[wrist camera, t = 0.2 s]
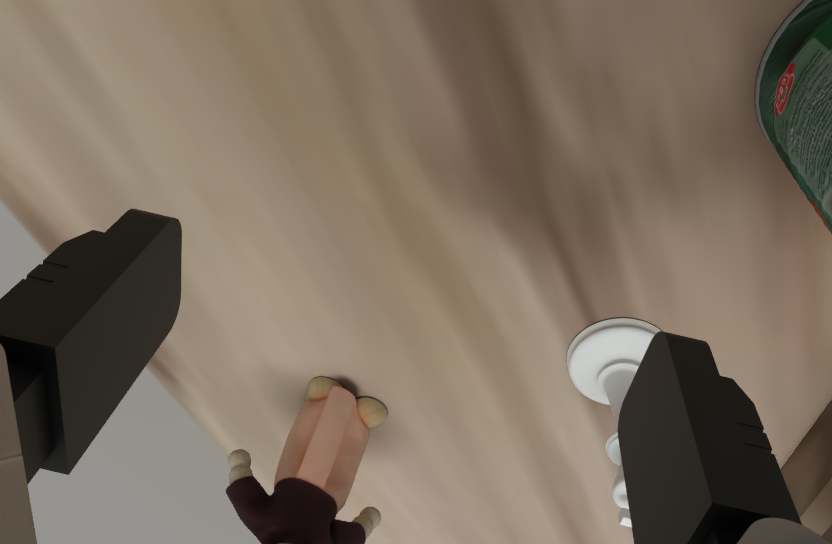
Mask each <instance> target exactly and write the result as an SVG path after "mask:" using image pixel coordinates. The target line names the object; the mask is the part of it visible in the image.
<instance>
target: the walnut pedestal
mask: <svg viewBox="0 0 832 544" xmlns="http://www.w3.org/2000/svg"><path fill="white" fill-rule="evenodd" d="M781 473H782V475H783V478H784V480H785V483H786V485H787V488H788V490H789V493H790V495H791V498H792V500H793V503H794V505H795V508H796V510H797V513H798V515H799V518H800V520H801V523H802V525H803V526H805V527H807V528H809V529H811V530H812V531H814V532H815V533H817V534H819V535H820V536H822V537H823V538H824V539H826V540H827V541H828V542H829V543H831V544H832V401H831V402H830V404H829V405H828V406H827V408H826V409H825V411H824V412H823V413H822V415H821V416H820V417H819V419H818V420H817V422H816V423H815V424H814V426H813V427H812V428H811V430H810V431H809V432H808V434H807V435H806V437H805V438H804V439H803V441H802V442H801V443H800V445H799V446H798V448H797V449H796V450H795V452H794V453H793V454H792V456H791V457H790V459H789V460H788V461H787V463H786V464H785V465H784V467H783V468H782V470H781Z"/></svg>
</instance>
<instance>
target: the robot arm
mask: <svg viewBox="0 0 832 544" xmlns="http://www.w3.org/2000/svg"><path fill="white" fill-rule="evenodd" d="M181 247H182V230H181V224H180V222H179V220H178V219H176V218H172V217H168V216H163V215H159V214H155V213H150V212H146V211H142V210H137V209H130V210H128V211H127V212H126V213H125V214H124V215H123V216H122V217H121V218H120V219H119V220H118V221H117V222H115V223H114V224H113V225H112V226H111V227H110V228H109V229H108V230H107V231H106V232H105V233H103V232H99V231H95V230H92V231H90V232H87V233H85V234H83V235H80V236H78V237H76V238H73V239H71V240H69V241H66V242H64V243H62V244H61V245H60V246H59V247H58V248H57V249H56V250H55V251H53V252H52V253H51V254H50V255H49V256H48V257H47V258H46V259H45V260H43V264H42V265H41V264H39V265H38V266H37V267H36V268H35V269H33V270H32V271H31V272H30V273H29V274H28V275H27V278H26V280H25V279H22V280H21V281H20V282H19V283H18V284H17V285H16V286H14V287H13V288H12V289H11V290H10V291H9V292H8V293H7V294H6V295H4V296H3V297H2V298H1V299H0V544H37V541H36V535H35V529H34V522H33V516H32V511H31V504H30V498H29V492H28V486H27V484H28V483H29V482H30V481H31V479H32V478H33V476H34V475H35V474H36V472H37V471H38V470H39V469H40V468H42V469H46V470H50V471H54V472H59V473H63V474H69V473H70V472H71V471H72V469H73V468H74V466H75V465H76V464H77V462H78V461H79V459H80V458H81V457H82V455H83V454H84V452H85V451H86V449H87V448H88V447H89V445H90V444H91V442H92V441H93V440H94V438H95V437H96V435H97V434H98V433H99V431H100V430H101V428H102V427H103V425H104V424H105V423H106V421H107V420H108V418H109V417H110V415H111V414H112V413H113V411H114V410H115V408H116V407H117V406H118V404H119V403H120V401H121V400H122V399H123V397H124V396H125V394H126V393H127V391H128V390H129V389H130V387H131V386H132V384H133V383H134V382H135V380H136V378H137V377H138V376H139V374H140V373H141V372H142V370H143V369H144V367H145V366H146V365H147V363H148V362H149V360H150V359H151V358H152V356H153V355H154V353H155V352H156V350H157V349H158V348H159V346H160V345H161V343H162V342H163V341H164V339H165V338H166V336H167V335H168V333H169V332H170V330H171V329H172V327H173V325H174V322H175V320H176V317H177V314H178V310H179V305H180V299H181ZM763 429H764V428H763V425H762V423H761V420H760V418H759V415H758V413H757V410H756V408H755V405H754V403H753V402H752V401H751V400H750V398H749V397H748V396H747V395H746V394H745V393H744V392H743V390H742V389H741V388H740V387H739V386H738V385H737V383H736V382H735V381H734V380H733V379H731V378H727V377H723V376H720V375H719V372H718V369H717V366H716V364H715V361H714V358H713V355H712V352H711V350H710V347H709V345H708V344H707V342H705V341H701V340H697V339H693V338H688V337H684V336H680V335H675V334H671V333H667V332H662V331H659V332H657V333H656V334H655V335H654V337H653V338H652V340H651V342H650V344H649V346H648V348H647V350H646V352H645V355H644V357H643V359H642V361H641V363H640V365H639V368H638V370H637V372H636V374H635V376H634V378H633V381H632V383H631V385H630V387H629V389H628V391H627V394H626V396H625V398H624V400H623V403H622V406H621V410H620V414H619V420H618V440H619V447H620V453H621V460H622V466H623V473H624V479H625V486H626V492H627V499H628V505H629V512H630V518H631V525H632V531H633V537H634V544H831V543H829V542H828V541H827V540H826V539H824V538H823V537H822V536H820V535H819V534H817V533H815V532H814V531H812V530H811V529H809V528H807V527H805V526H803V525H802V523H801V520H800V518H799V515H798V513H797V510H796V508H795V505H794V503H793V500H792V498H791V495H790V493H789V490H788V488H787V485H786V483H785V480H784V478H783V475H782V473H781V470H780V468H779V465H778V463H777V460H776V458H775V455H774V454H771V450H772V448H771V445H770V443H769V440H768V438H767V435H766V433H763Z"/></svg>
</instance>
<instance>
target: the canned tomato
mask: <svg viewBox="0 0 832 544" xmlns="http://www.w3.org/2000/svg"><path fill="white" fill-rule="evenodd" d="M755 105H756V111H757V117H758V121H759V124H760V126H761V128H762V130H763V133H764V135H765V137H766V139H767V140H768V141H769V143H770V144H771V145H772V146H773V148H774V149H775V150H776V151H777V153H778V154H779V157H780V158H781V159H782V161H783V162H784V163H785V165H786V167H787V168H788V170H789V171H790V172H791V174H792V176H793V178H794V179H795V180H796V181H797V183H798V184H799V186H800V188H801V190H802V191H803V192H804V193H805V195H806V196H807V199H808V200H809V201H810V203H811V204H812V205H813V207H814V208H815V211H816V212H817V214H818V215H819V216H820V217H821V219H822V220H823V222H824V224H825V226H826V227H827V228H828V229H829V231H830V232H831V234H832V0H804V1H803V2H802V3H801V4H800V5H799V6H798V7H797V8H796V9H795V10H794V11H793V12H792V13H791V14H790V15H789V16H788V17H787V18H786V20H785V21H784V22H783V24H782V25H781V27H780V28H779V29H778V31H777V32H776V34H775V35H774V36H773V38H772V39H771V42H770V44H769V46H768V48H767V50H766V52H765V54H764V56H763V58H762V60H761V64H760V68H759V71H758V75H757V79H756V89H755Z"/></svg>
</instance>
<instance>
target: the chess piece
mask: <svg viewBox="0 0 832 544" xmlns="http://www.w3.org/2000/svg"><path fill="white" fill-rule="evenodd" d="M659 331H661V330H660V329H658V328H657V327H655V326H653V325H651V324H649V323H647V322H644V321H641V320H636V319H629V318H616V319H609V320H604V321H601V322H598V323H595V324H593V325H591V326H589V327H588V328H586V329H585V330H583V331H582V332H581V333H579V334H578V335H577V336H576V338H575V339H574V340H573V342H572V343H571V345H570V347H569V350H568V353H567V366H568V370H569V374H570V377H571V380H572V382H573V383H574V385H575V386H576V388H577V389H578V390H579V391H580V392H581V393H583V394H584V395H585V396H587V397H588V398H590V399H592V400H594V401H597V402H599V403H603V404H607V405H610V406H611V410H612V413H613V416H614V420H615V423H616V427H617V432H616V433H615V434H613V435H612V436H611V437H610V438H609V439H608V441H607V443H606V452H607V454H608V456H609V458H610V459H611V460H612V461H613V462H614V463H615V464H617V465H619V468H618V474H617V477H616V479H615V482H614V485H613V490H612V496H613V499H614V501H615V503H616V504H617V505H618V506H619V507H621V508H622V509H621V511H620V513H619V524H620V525H624V526H629V527H632V525H631V518H630V512H629V505H628V499H627V492H626V486H625V479H624V473H623V466H622V460H621V453H620V447H619V440H618V420H619V414H620V410H621V406H622V403H623V400H624V398H625V396H626V394H627V391H628V389H629V387H630V385H631V383H632V381H633V378H634V376H635V374H636V372H637V370H638V368H639V365H640V363H641V361H642V359H643V357H644V355H645V352H646V350H647V348H648V346H649V344H650V342H651V340H652V338H653V337H654V335H655V334H656V333H657V332H659Z"/></svg>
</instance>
